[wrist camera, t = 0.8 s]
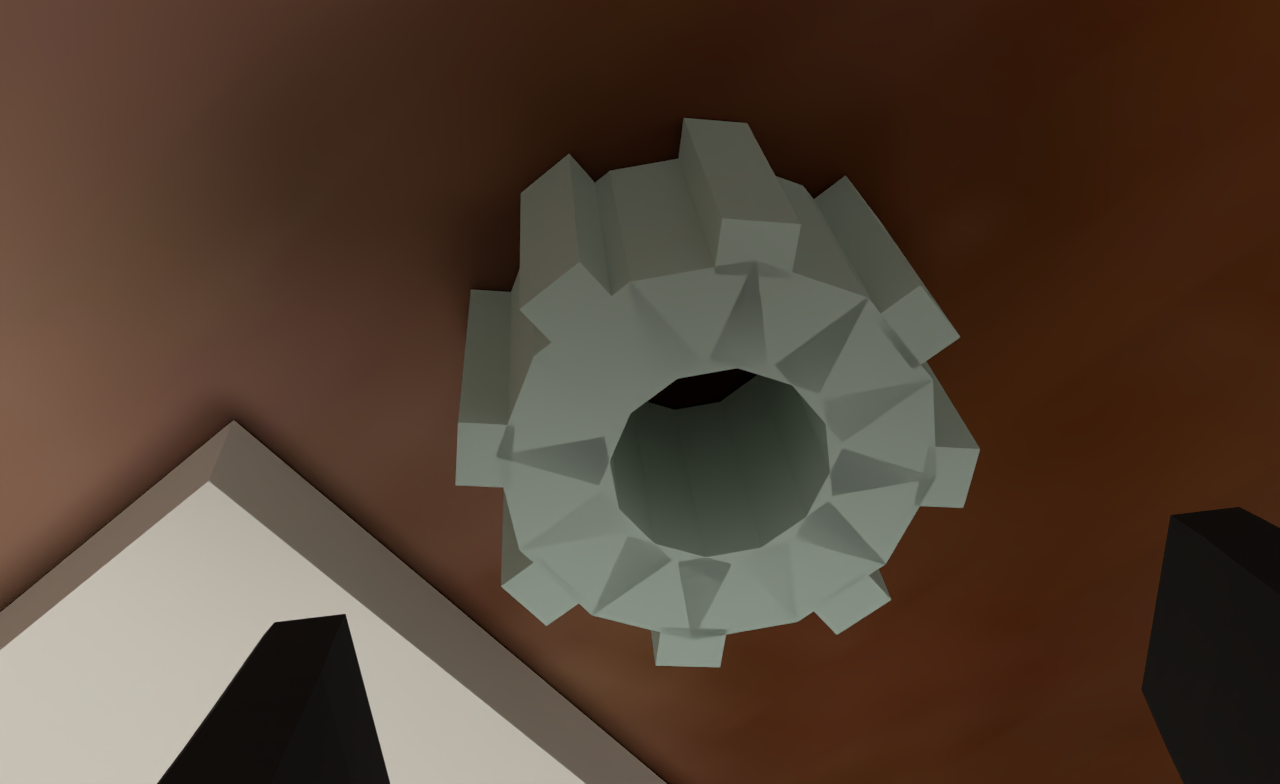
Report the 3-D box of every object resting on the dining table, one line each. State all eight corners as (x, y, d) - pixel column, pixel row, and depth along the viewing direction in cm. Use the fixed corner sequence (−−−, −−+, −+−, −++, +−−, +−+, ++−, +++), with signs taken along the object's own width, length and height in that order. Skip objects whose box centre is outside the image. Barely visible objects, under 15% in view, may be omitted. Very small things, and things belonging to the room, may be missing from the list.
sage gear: (976, 348, 17) (1071, 483, 14) (651, 573, 18) (675, 738, 15) (730, 21, 14) (781, 102, 11) (377, 311, 16) (342, 448, 13)
